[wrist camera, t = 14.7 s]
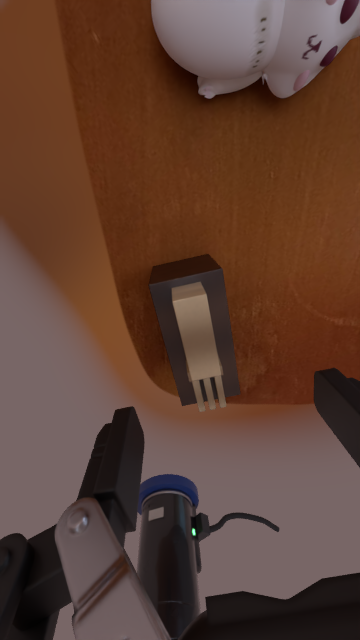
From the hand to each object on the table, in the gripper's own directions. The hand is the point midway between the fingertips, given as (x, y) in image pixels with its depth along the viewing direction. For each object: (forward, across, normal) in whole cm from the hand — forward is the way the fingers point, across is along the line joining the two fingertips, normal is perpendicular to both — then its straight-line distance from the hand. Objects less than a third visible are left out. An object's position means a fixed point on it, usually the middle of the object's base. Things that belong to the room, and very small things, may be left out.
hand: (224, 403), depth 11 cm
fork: (+11, 0, +3) cm, 11 cm away
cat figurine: (+18, -8, -19) cm, 27 cm away
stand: (+18, 0, +3) cm, 18 cm away
